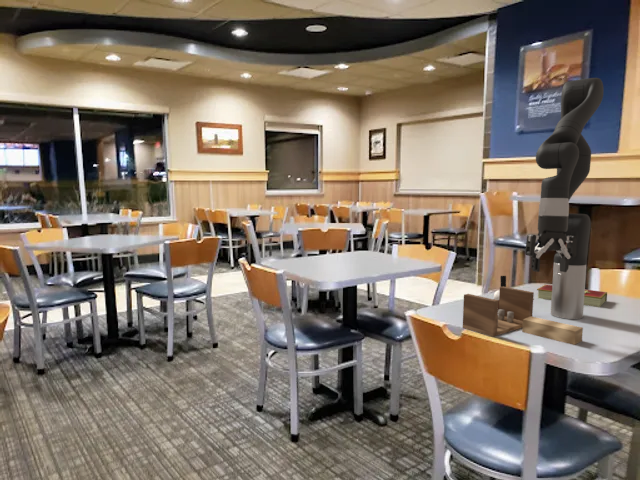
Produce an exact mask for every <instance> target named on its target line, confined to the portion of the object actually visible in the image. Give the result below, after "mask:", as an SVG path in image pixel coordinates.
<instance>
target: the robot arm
mask: <svg viewBox="0 0 640 480" xmlns="http://www.w3.org/2000/svg"><path fill="white" fill-rule="evenodd" d="M603 98H604V84H603V81H602V79H601V78H599V77H590V78H588V77H587V78H583V79H576V80H570V81H567V82H565V83H564V84H563V86H562V90H561V94H560V99H561V100H560V120H559V121H558V122H557V124H556V125H555V127H554V130H553V132H552V134H551V135H549V136H548V137H547V138H546V139H545V140H544V141H543V142H542V143H541V145H539V146H538V149H537V152H536V154H535V162H536V164H537V166H538V167H539V168H541V169H544V170H551V169H553V170H554V169H556V174H555V175H554V176H548V177H546V178H543V179H542V181H541V186H540V187H541V188H540V200H539V205H538V216H537V217H538V218H537V231H538V233H537V235H535V234H527V236H526V243H525V249H524V250H525V251H524V255H526V256H528V257H531V263H530V264H531V266H530V268H531V270H532V272H535V273H536V272H537V273H539V272H540V271H541V270H540V268H541V256H542V255H543V254H544V253H546V251H554V252H555V251H556V253H555V254H554V257H553V270H552V271H553V272H552V300H550V301H551V304H550V315H551V316H554V317H556V318H557V317H558V318H562V319H567V320H568V319H569V320H580V319H583V317H584V308H585V305H584V294H585V289H586V278H587V264H588V263H587V261H588V254H589V252H588V251H589V242H590V235H591V226H592V225H591V224H592V221H591V217H590V216H589V215H588V214H585V213H569V212H570V203H569V202H570V199H571V198H572V196H574V194H575V192H576V191H577V190H578V189H579V187H581V185H582V184H583V183H584V181H586V179H587V178H588V176H589V174H590V171H591V162H592V160H591V159H592V149H591V147H590V145H589V143H588V141H587V140H586V138H585V137H584V136H583V135H582V133H583V130H584V128H585V126H586V124H587V123H588V122H589V121H590V119H591V118H592V116H593V115H594V114H595V112H596V111H597V110H598V109H599V107H600V106H601V103H602V101H603ZM536 243H537V244H536ZM565 243H566V245H565Z"/></svg>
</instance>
